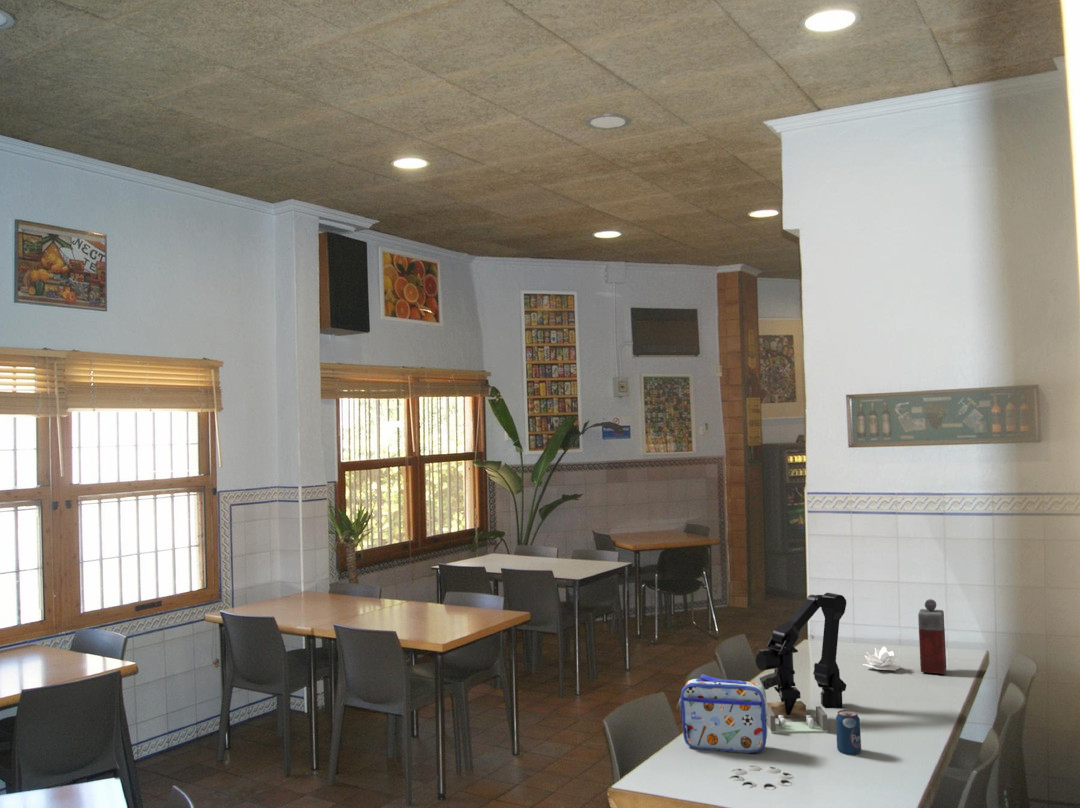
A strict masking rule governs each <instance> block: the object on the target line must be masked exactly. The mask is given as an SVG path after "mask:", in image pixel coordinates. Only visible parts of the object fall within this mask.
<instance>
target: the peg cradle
mask: <svg viewBox="0 0 1080 808" xmlns="http://www.w3.org/2000/svg"><path fill="white" fill-rule="evenodd" d="M805 717H806V718H805V719H806V721H786V717H784V716H783V715H779V717H778V721H776V718H775V715H774V713H773V712H772V710H771V708H770V707H767V720H768V726H767V730H768V731H769V732H770V734H819V733H820V734H821V733H822V734H824V733H825V734H827V733H829V731H828V729H829V728H828V714H827V713H826V712H825V710H824V709H823V708H822V706H815V721H814V717H812V715H811V714H806V716H805Z"/></svg>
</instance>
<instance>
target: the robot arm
mask: <svg viewBox="0 0 1080 808" xmlns="http://www.w3.org/2000/svg"><path fill="white" fill-rule="evenodd" d="M846 606H847V599H846V598H845V596H843V595H842V594H838V593H832V592H825V593H824V594H809V595H808V596H807V597H806V600H805V601H804V602H803V604H801V606H800V607H799V608H798V609H797V610H796V611H795V613H794V614H793V615H792V616H791V618H790V619H789V620H788V621H786V622H784V623H782V624H780V625H779V626H777V627H776V628H775V629H774V630H773V632H772V634H771V636H770V639H769V641H768V643H767V645H766V647H765V648H766V649H762V648H761V649H758V651H759V652H758V654H757V655H756V657H755V664H756V667H757V668H758V669H759V671H768V670H774V672H772V673H768V674H766V675H763V676H761V677H759V681H760V683H761V684H760V685H761V686H762V687H763V688H764V690H765V691H766V690H769V689H770V688H774V690H775V691H776V692H777V693H778V696H779V699H780V702H784V705H785V709H786V714H787V715H790V714H791V711H792V709H793V707H794V704H795V702H796V701H798V700H797V699H801V691H800V690H799V689H798V688H797V687H796V682H795V676H794V675H795V674H796V671H795V669H794V655H793V654H796V653H798V652H799V650H798V649H797V648H796V647H794V646H795V644H796V643H797V641H798V640H799V637H800V632H801V630H802V629H803V628H804V627H805V625H806V624H808V622H809V621H810V619H811V618H812V617H813V616H814V614H815V613H816V612H817V611H818V610H819V609H820V608H821V611H822V614H823V616H824V625H823V636H822V645H821V646H822V647H821V655H820V656H821V658H820V660H819V661H818V662H815V663H814V665H813V669H814V670H813V674H812V675H813V676H814V680H815V682H816V683H817V686H818V688H821V691H820V704H821V705H822V707H824V709H845V707H844V705H843V692H845V691H846V690H847V684H846V683H845V682H844V681H843V679H841V675H840V668H839V665H838V662H837V653H838V652H837V650H838V642H839V641H838V640H839V629H840V620H841V618H842V617H844V614H845V612H846Z"/></svg>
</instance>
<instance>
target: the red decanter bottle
mask: <svg viewBox="0 0 1080 808" xmlns="http://www.w3.org/2000/svg"><path fill="white" fill-rule="evenodd" d="M924 607H925V608H920V609H919V612H918V613H917V614H918V615H917V618H918V622H917V623H918V639H919V640H918V643H919V659H920V660H919V661H920V662H919V664H920V666H919V667H920V673H931V674H941V675H943V674H945V675H946V673H947V654H946V653H947V652H946V650H947V649H946V634H945V633H946V631H945V630H946V629H945V612H944V610H943V609H936V608H937V602H936V601H935V600H934V599H932V598H929V599H926V600H925V602H924Z"/></svg>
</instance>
